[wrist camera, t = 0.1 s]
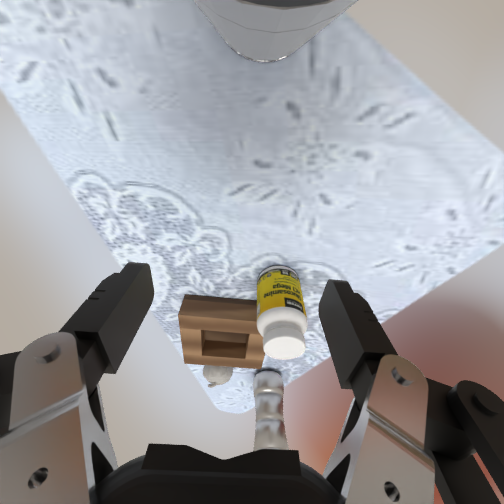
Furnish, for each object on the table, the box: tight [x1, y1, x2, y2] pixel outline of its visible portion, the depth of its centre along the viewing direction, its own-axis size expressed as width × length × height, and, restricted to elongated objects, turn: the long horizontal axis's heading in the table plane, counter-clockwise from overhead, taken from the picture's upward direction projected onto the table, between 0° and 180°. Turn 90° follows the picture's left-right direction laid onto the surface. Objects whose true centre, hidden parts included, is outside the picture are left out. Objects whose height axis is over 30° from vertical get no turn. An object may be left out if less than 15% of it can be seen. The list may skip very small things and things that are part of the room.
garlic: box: [203, 365, 233, 388], centre depth 46 cm, size 6×5×5 cm
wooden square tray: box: [178, 294, 265, 369], centre depth 39 cm, size 14×14×4 cm
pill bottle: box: [257, 266, 308, 360], centre depth 29 cm, size 6×6×11 cm
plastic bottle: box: [253, 371, 289, 451], centre depth 43 cm, size 6×7×20 cm
